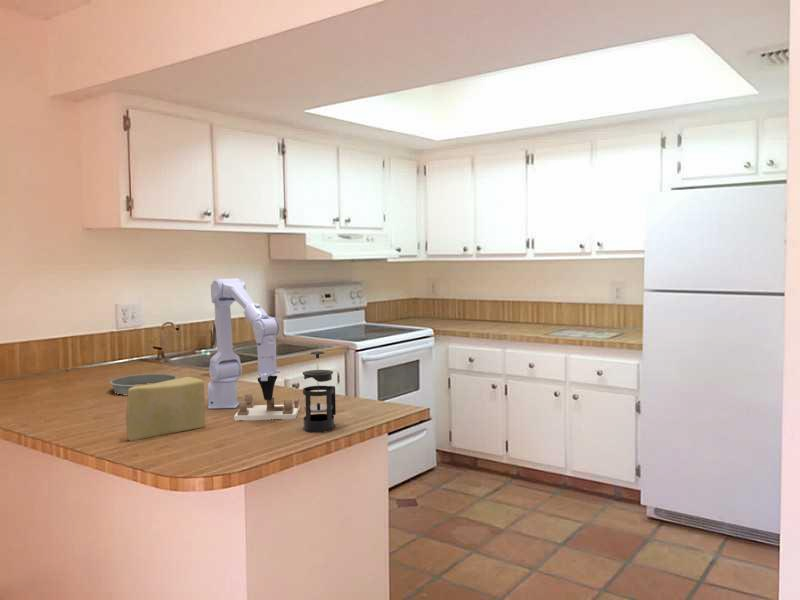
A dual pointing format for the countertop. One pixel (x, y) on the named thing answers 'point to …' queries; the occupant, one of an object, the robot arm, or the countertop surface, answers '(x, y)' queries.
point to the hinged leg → (274, 408)
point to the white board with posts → (259, 411)
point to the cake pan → (138, 381)
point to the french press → (318, 420)
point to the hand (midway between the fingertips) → (268, 399)
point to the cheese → (165, 408)
